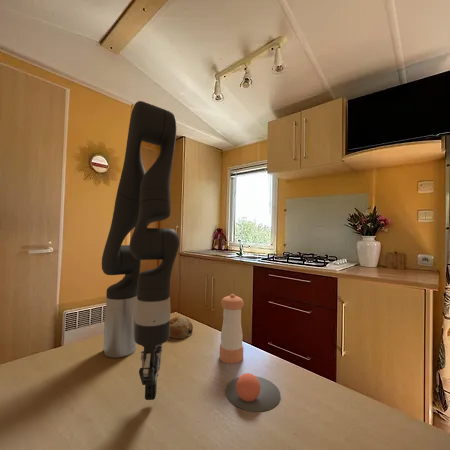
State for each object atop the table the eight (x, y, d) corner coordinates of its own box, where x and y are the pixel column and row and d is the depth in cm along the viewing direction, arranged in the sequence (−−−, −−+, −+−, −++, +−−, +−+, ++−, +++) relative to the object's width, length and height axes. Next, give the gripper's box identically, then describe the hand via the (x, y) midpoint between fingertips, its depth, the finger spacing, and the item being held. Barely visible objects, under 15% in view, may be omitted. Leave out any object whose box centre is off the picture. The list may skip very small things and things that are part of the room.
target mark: (214, 395, 58) (214, 394, 58) (243, 371, 69) (243, 370, 69) (265, 420, 51) (265, 419, 51) (288, 388, 62) (288, 388, 62)
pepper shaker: (231, 349, 82) (232, 290, 82) (248, 357, 76) (249, 294, 77) (214, 356, 76) (215, 293, 77) (231, 366, 71) (233, 298, 72)
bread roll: (181, 351, 88) (191, 330, 87) (156, 335, 90) (166, 315, 89) (190, 339, 97) (199, 321, 97) (168, 325, 99) (177, 307, 99)
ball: (250, 366, 57) (268, 382, 58) (237, 369, 61) (254, 383, 61) (241, 390, 53) (259, 407, 54) (228, 391, 57) (245, 407, 58)
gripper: (165, 329, 49) (163, 419, 49) (173, 308, 62) (171, 379, 62) (126, 330, 49) (123, 421, 48) (142, 308, 62) (140, 380, 61)
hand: (150, 397), depth 55 cm, fingers closed
